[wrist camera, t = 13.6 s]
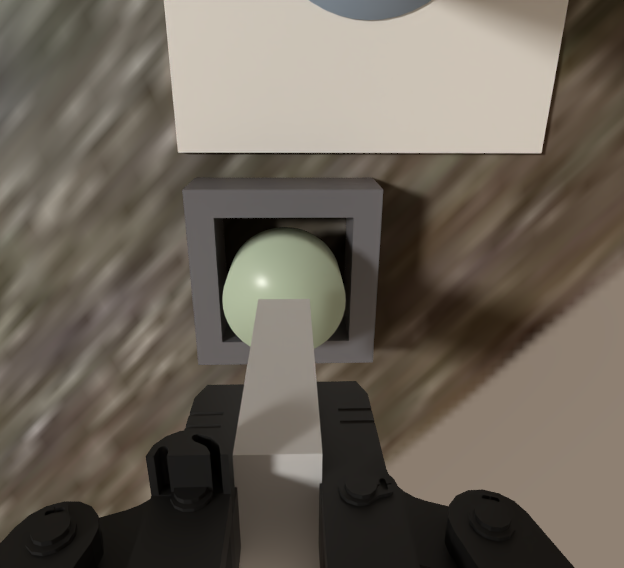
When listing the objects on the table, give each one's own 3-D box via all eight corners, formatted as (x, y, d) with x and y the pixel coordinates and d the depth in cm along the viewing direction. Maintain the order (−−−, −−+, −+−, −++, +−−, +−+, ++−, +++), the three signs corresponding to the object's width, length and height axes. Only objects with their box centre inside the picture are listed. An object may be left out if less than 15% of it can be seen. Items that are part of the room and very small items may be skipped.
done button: (226, 227, 18) (218, 243, 16) (341, 226, 18) (347, 243, 16) (232, 330, 19) (226, 356, 17) (338, 329, 19) (343, 355, 18)
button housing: (194, 177, 19) (182, 189, 17) (372, 177, 19) (383, 189, 17) (208, 336, 22) (198, 364, 20) (364, 334, 22) (372, 362, 20)
